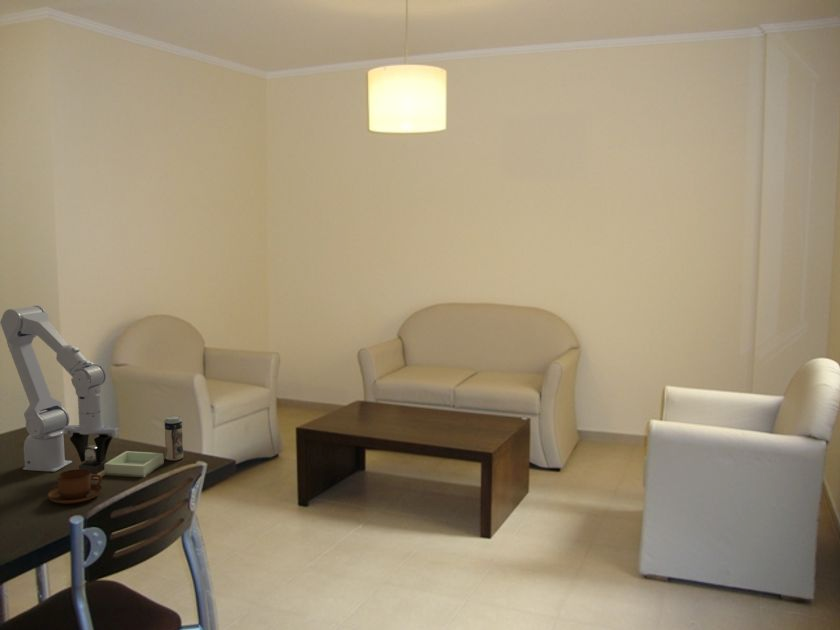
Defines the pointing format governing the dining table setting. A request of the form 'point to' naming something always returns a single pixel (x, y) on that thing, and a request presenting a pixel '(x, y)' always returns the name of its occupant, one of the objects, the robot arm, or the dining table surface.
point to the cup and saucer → (75, 487)
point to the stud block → (99, 474)
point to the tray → (134, 464)
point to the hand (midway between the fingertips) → (92, 461)
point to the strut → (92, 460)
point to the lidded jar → (173, 438)
